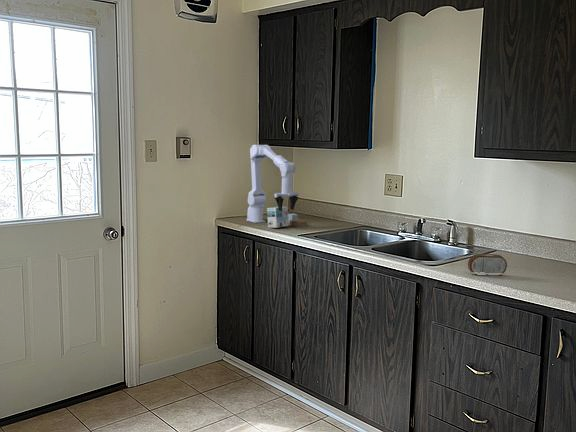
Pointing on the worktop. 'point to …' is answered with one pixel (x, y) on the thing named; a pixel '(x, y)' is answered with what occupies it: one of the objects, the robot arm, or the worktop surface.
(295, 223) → the walnut slab
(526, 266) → the worktop surface
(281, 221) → the light bulb box
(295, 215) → the blue block
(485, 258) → the tin
